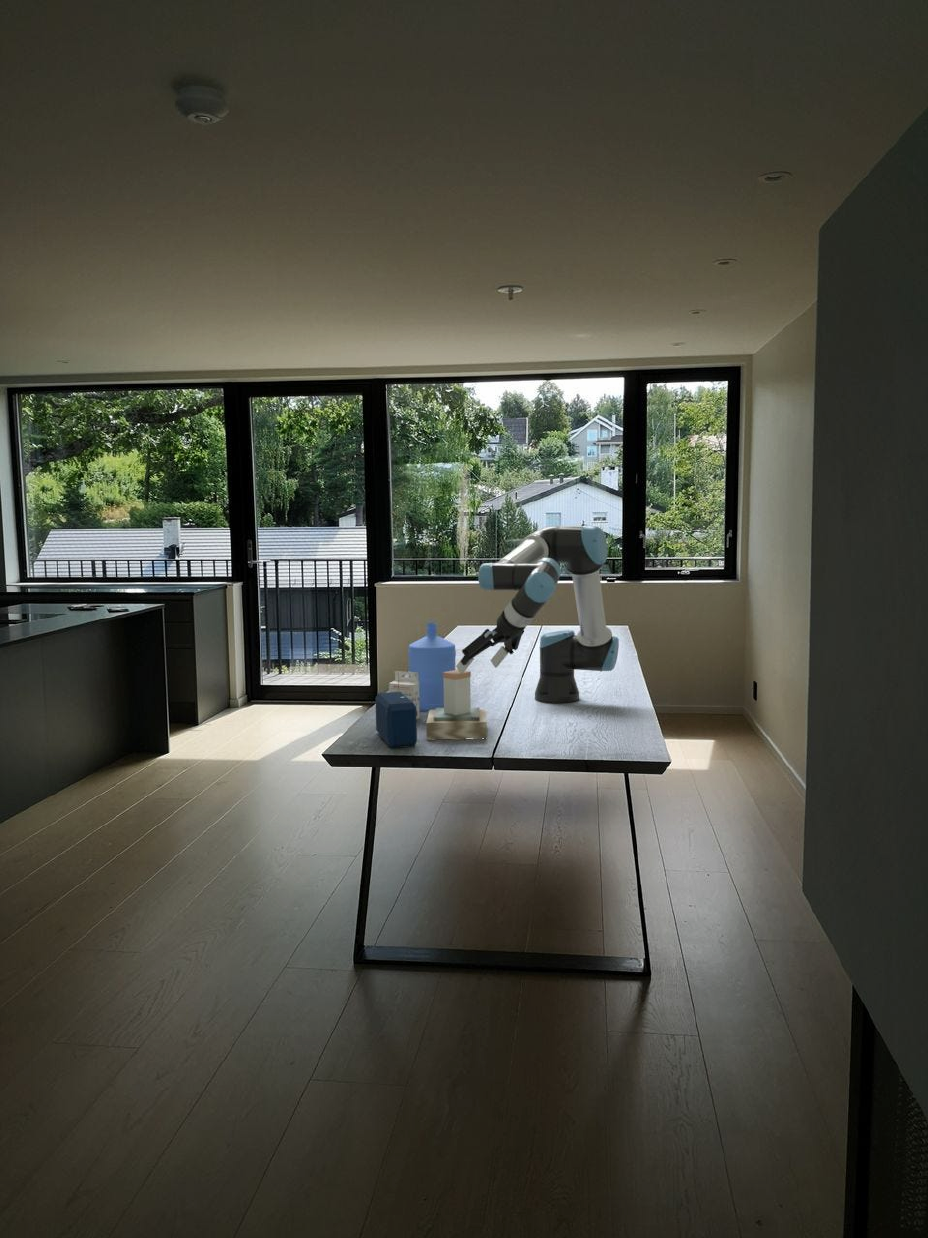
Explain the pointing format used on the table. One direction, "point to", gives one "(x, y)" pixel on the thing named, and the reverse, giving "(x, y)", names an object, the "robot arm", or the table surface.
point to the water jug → (431, 667)
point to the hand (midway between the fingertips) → (476, 667)
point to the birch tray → (456, 725)
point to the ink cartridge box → (407, 687)
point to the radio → (396, 719)
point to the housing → (457, 692)
